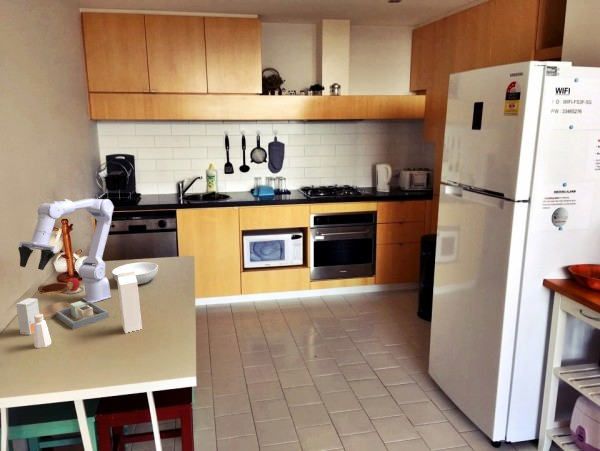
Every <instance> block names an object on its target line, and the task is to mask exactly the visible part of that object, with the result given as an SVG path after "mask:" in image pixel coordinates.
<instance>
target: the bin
mask: <svg viewBox="0 0 600 451" xmlns="http://www.w3.org/2000/svg"><path fill="white" fill-rule="evenodd" d="M84 303H85V306H87V305H88V306H90V307H92V308H93V312H96V313H97V314H95V315H94V314H93V315H94V316H91V317H87V318H84V319H81V320H79V319H78V320H75V321H74V320H73V319H71V318H69V317H68V316H69V315H72V313H71V307H70V308H66V309H63V310H59V311H56V315H57V317H56V318H57V319H58V320H60V321H62V322H63V323H64V324H66V325H67V326H68V327H69V328H71V329H72V330H76V329H79V328H82V327H84V326H88V325H91V324H94V323H97V322H100V321H103V319H104V320H106V318H107V319H109V318H110V315H109V311H108V310H106V309H104V308H103V307H100V306H99V305H97V304H95V302H94V303H92V302H87V301H86V302H84Z"/></svg>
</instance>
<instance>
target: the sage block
mask: <svg viewBox="0 0 600 451" xmlns="http://www.w3.org/2000/svg"><path fill="white" fill-rule="evenodd" d="M85 303H86V302H83V301H81V300H79V301H75V302H71V303H69V304H70V306H71V313H72V314H71V316H72V317H74V318H75V319H79V317H78V309H77V308H80V307H83V306H85Z"/></svg>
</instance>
